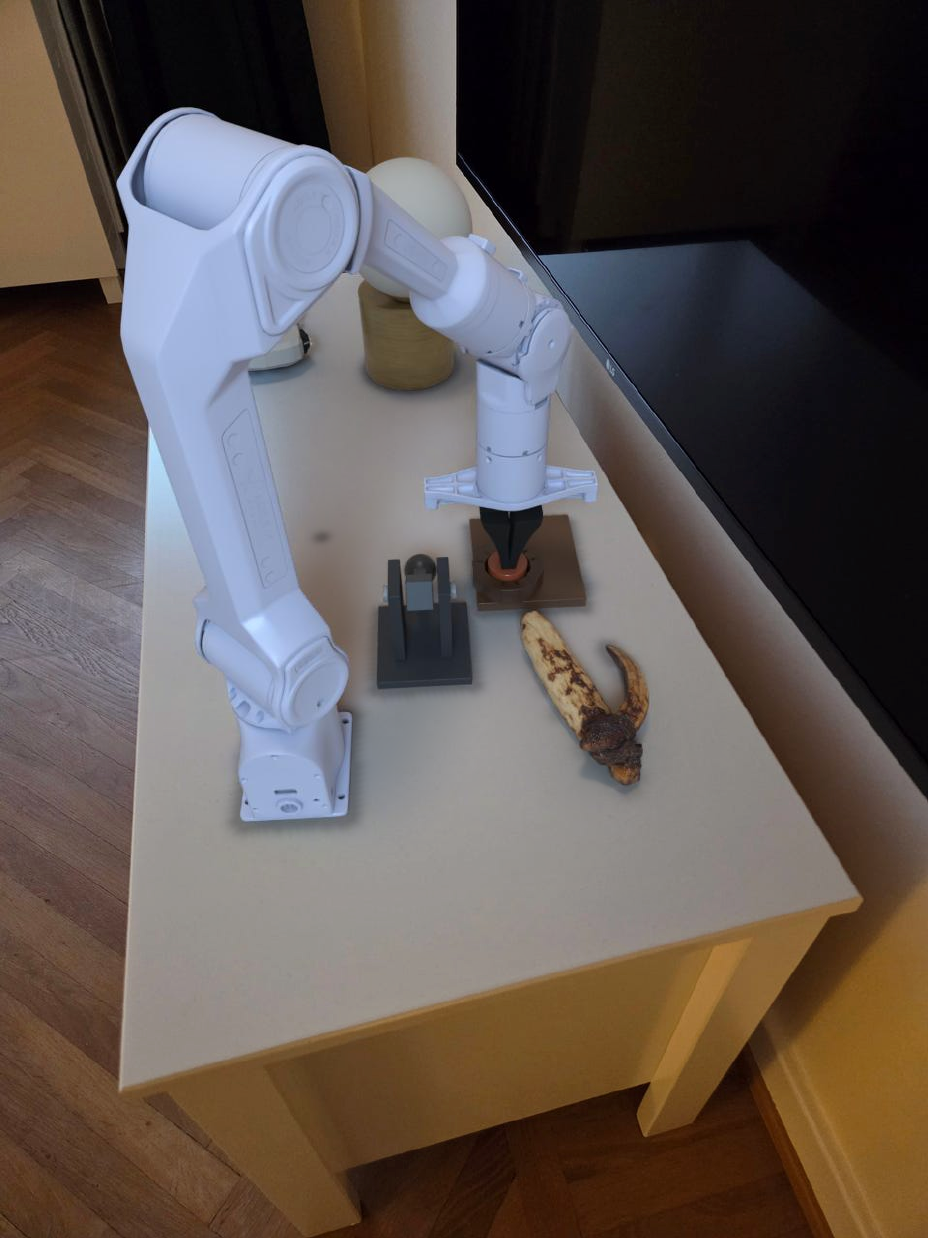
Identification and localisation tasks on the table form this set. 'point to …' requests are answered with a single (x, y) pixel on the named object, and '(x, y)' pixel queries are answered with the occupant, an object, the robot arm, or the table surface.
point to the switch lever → (419, 582)
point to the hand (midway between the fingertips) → (507, 561)
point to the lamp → (389, 324)
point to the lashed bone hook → (590, 699)
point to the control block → (530, 570)
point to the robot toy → (284, 351)
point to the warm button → (506, 574)
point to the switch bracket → (422, 636)
